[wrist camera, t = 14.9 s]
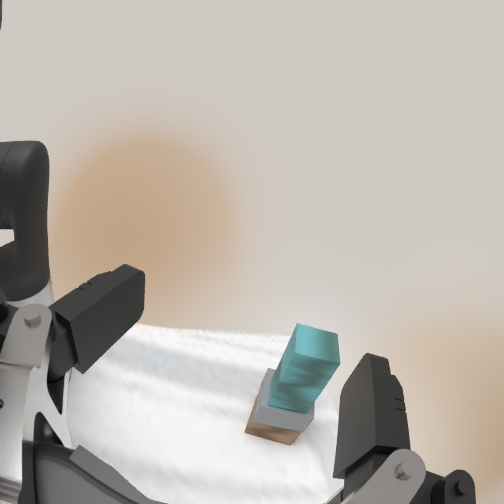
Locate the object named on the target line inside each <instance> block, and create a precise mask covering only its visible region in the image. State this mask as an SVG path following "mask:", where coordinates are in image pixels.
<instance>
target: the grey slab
mask: <svg viewBox="0 0 504 504" xmlns="http://www.w3.org/2000/svg"><path fill="white" fill-rule="evenodd" d="M275 371H276V370H274V369H270V368H268V370H267V372H266V374H265V376H264V379H263V381H262V383H261V386H260V391H259V395H258V400H257V404H256V409H255V413H254V417H253V422H257V423H261V424H265V425H269V426H274V427H278V428H283V429H288V430H293V431H298V432H303V431H304V430H305V428H306V427H307V426H308V425H309V424H310V422H311V421H312V420H313V419H314V403H313V404H312V406H311V407H310V409H309V410H308V411H307V413H306V414H302V413H297V412H293V411H288V410H284V409H279V408H275V407H271V406H267V404H268V399H269V394H270V389H271V383H272V378H273V375H274V373H275Z"/></svg>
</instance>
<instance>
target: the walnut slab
mask: <svg viewBox="0 0 504 504" xmlns="http://www.w3.org/2000/svg"><path fill="white" fill-rule="evenodd" d="M258 395H259V393H258ZM258 395H257V398H256V400H255V403H254V406H253V409H252V412H251V415H250V418H249V421H248V424H247V426H246V429H245V433H248V434H251V435H255V436H258V437H261V438H265V439H268V440H272V441H275V442H279V443H283V444H287V445H291V444H292V443H293V442H294V441H295V439H296V438H297V437H298V436H299V435H300V433H301V432H298V431H293V430H288V429H283V428H278V427H274V426H269V425H265V424H261V423H257V422H253V417H254V413H255V409H256V404H257V400H258Z"/></svg>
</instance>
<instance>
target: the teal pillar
mask: <svg viewBox="0 0 504 504" xmlns="http://www.w3.org/2000/svg"><path fill="white" fill-rule="evenodd" d="M339 365H340V357H339V346H338V335H337V334H336V333H332V332H328V331H324V330H320V329H317V328H313V327H309V326H305V325H302V324H298V323H297V325H296V327H295V329H294V332H293V334H292V336H291V338H290V341H289V343H288V345H287V347H286V350H285V352H284V354H283V356H282V358H281V361H280V363H279V365H278V367H277V369H276V371H275V373H274V375H273V378H272V383H271V389H270V394H269V399H268V404H267V406H271V407H275V408H279V409H284V410H288V411H293V412H297V413H302V414H306V413H307V411H308V410H309V409H310V407H311V406H312V404H313V403H314V402H315V400H316V399H317V397H318V396H319V395H320V393H321V392H322V390H323V389H324V387H325V386H326V385H327V383H328V381H329V380H330V379H331V377H332V376H333V374H334V372H335V371H336V369H337V368H338V366H339Z"/></svg>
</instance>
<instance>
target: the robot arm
mask: <svg viewBox="0 0 504 504" xmlns="http://www.w3.org/2000/svg"><path fill="white" fill-rule="evenodd" d="M1 22H2V0H0V29H1ZM48 189H49V156H48V153H47V149H46V147H45V145H44V144H43V143H41V142H39V141H12V142H0V229H13V230H14V238H15V239H14V241H12V242H10V243H8V244H5V245H4V246H2V247H0V504H166V503H162V502H158V501H154V500H151V499H149V498H147V497H146V496H144V495H143V494H142V493H141V492H140V491H138V490H137V489H136V488H135V487H134V486H133V485H131V484H130V483H129V482H128V481H127V480H126V479H125V478H124V477H123V476H121V475H120V474H119V473H118V472H117V471H116V470H115V469H114V468H113V467H111V466H110V465H108V464H107V463H105V462H103V461H102V460H100V459H99V458H97V457H96V456H95V455H93V454H92V453H90V452H89V451H87V450H86V449H85V448H83V447H82V446H81V445H79V446H78V447H77V449H76V450H73V449H72V441H71V436H70V431H69V428H68V424H67V399H68V382H69V379H70V376H71V368H72V367H74V368H75V369H77V370H78V371H79V372H81V373H82V374H84V373H85V372H86V371H87V370H88V369H89V368H90V367H91V366H92V365H93V364H94V363H95V362H96V361H97V360H98V359H99V358H100V357H101V356H102V355H103V354H104V353H105V352H106V351H107V350H108V349H109V348H110V347H111V346H112V345H113V344H114V343H115V342H117V341H118V340H119V339H120V338H121V337H122V336H123V335H124V334H125V333H126V332H127V331H128V330H129V329H130V328H131V327H132V326H133V325H134V324H135V323H136V322H137V321H138V320H139V319H140V317H141V315H142V313H143V310H144V293H145V274H144V272H143V271H141V270H139V269H136V268H134V267H132V266H130V265H127V264H124V265H122V266H120V267H119V268H117V269H115V270H114V271H112V272H111V271H109V272H106V273H102V274H99V275H96V276H95V277H93V278H91V279H90V280H89V281H87V283H83V284H82V285H80V286H79V288H76V289H74V290H73V291H71V292H70V293H68V294H67V295H65V296H64V297H62V298H61V299H59V300H58V301H56V302H55V300H54V295H53V290H52V283H51V277H50V269H49V259H48V258H49V256H48V235H47V234H48V233H47V206H48ZM405 410H406V408H405V402H404V395H403V389H402V386H401V385H400V383H399V381H398V379H397V378H396V376H395V375H391V373H390V367H389V362H388V359H387V358H384V357H380V356H377V355H373V354H370V353H366V354H365V355H364V356H363V358H362V359H361V361H360V362H359V364H358V365H357V366H356V368H355V369H354V371H353V372H352V374H351V375H350V377H349V378H348V380H347V381H346V383H345V384H344V387H343V389H342V392H341V396H340V408H339V423H338V435H337V446H336V455H335V464H334V472H333V478H338V479H345V480H344V487H342V488H341V489H339V490H338V491H337V492H336V493H335V494H334V495H333V496H331V497H330V498H329V499H328V500H327V501H326V502H325V503H323V504H476V498H475V485H474V481H473V479H472V477H471V476H470V475H469V474H468V473H467V472H466V471H464V470H455V471H453V472H452V473H450V474H449V475H447V476H446V477H442V476H440V475H437V474H434V473H431V472H428V471H426V469H425V464H424V462H423V460H422V459H421V457H420V456H419V455H418V454H417V453H415V452H413V451H411V449H410V439H409V430H408V422H407V415H406V412H405Z"/></svg>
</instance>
